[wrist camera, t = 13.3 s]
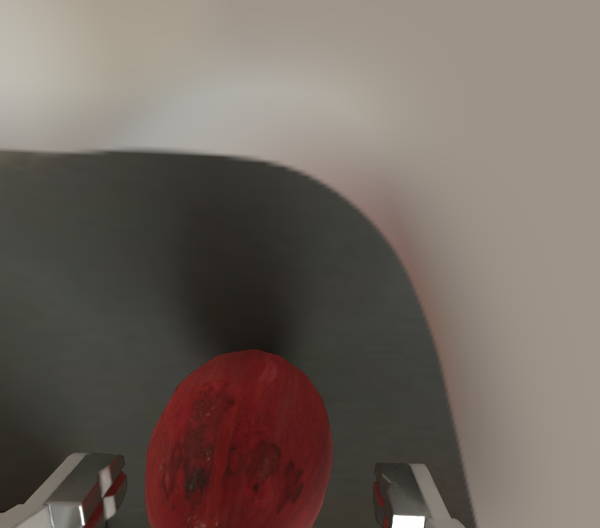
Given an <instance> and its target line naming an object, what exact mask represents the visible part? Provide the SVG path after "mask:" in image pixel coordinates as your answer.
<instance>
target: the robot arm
mask: <svg viewBox="0 0 600 528" xmlns="http://www.w3.org/2000/svg"><path fill="white" fill-rule="evenodd" d="M124 465H125V461H124V456H122V455H113V454H97V453H73V454H71V455H70V456H68V457H67V458H66V459H65V460H64V461H63V463H62V464H61V465H60V466H59V467H58V468H57V469H56V470H55V471H54V472H53V473H52V474H51V475H50V476H49V478H48V479H47V480H46V481H45V482H44V483H43V484H42V485H41V486H40V487H39V488H38V489H37V490H36V491H35V493H34V494H33V495H32V496H31V497H30V498H29V499H28V500H27V501H26V502H25V503H24V504H18V505H16V506H15V507H13V508H11V509H10V510H8V511H6V512H5V513H3V514H1V515H0V528H106V521H107V520H108V519H109V518H110V517H112V516H113V515H114V514H116V512H117V511H118V509H119V507H120V505H121V504H122V502H123V499H124V496H125V493H126V490H127V476H126V475H125V474H124V472H123V471H122V468H123V467H124ZM375 476H376V480H377V481H376V482H375V483H374V484H373V504H374V510H375V515H376V520H377V523H378V524H379V525H380V526H381V527H382V528H465V527H464V526H463V525H462V524H461V523H460V522H459V521H458V520H457V519H451V517H450V515H449V513H448V511H447V509H446V507H445V505H444V503H443V500H442V498H441V496H440V494H439V492H438V490H437V488H436V486H435V483H434V481H433V479H432V477H431V475H430V473H429V471H428V469H427V467H426V466H425V465H424V464H407V463H376V466H375Z"/></svg>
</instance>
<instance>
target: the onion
mask: <svg viewBox="0 0 600 528" xmlns="http://www.w3.org/2000/svg"><path fill="white" fill-rule="evenodd" d="M332 463H333V439H332V435H331V430H330V425H329V420H328V416H327V412H326V409H325V406H324V402H323V399H322V397H321V396H320V394H319V393H318V391H317V390H316V388H315V387H314V385H313V384H312V382H311V380H310V379H309V377H308V376H306V375H305V374H304V373H303V372H302V371H301V370H300V369H298V368H297V367H295V366H294V365H293V364H291V363H290V362H288V361H287V360H286V359H284V358H283V357H282V356H279V355H275V354H272V353H268V352H264V351H261V350H257V349H251V350H244V351H237V352H230V353H226V354H222V355H218V356H216V357H214V358H213V359H211V360H210V361H208V362H207V363H205V364H204V365H202V366H201V367H199V368H198V369H196V370H195V371H193V372H192V373H191V374H190V375H189V376H188V377H187V378H185V379H184V380H183V381H182V382H181V383H180V384H179V385H178V386H177V388H176V389H175V391H174V393H173V395H172V397H171V399H170V400H169V402H168V404H167V406H166V408H165V410H164V412H163V413H162V415H161V417H160V419H159V421H158V423H157V425H156V426H155V428H154V430H153V433H152V437H151V440H150V444H149V447H148V450H147V461H146V478H145V502H146V510H147V517H148V520H149V523H150V527H151V528H311V527H312V526H313V524H314V522H315V520H316V518H317V515H318V513H319V511H320V509H321V507H322V503H323V500H324V496H325V493H326V490H327V486H328V483H329V478H330V473H331V468H332Z"/></svg>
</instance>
